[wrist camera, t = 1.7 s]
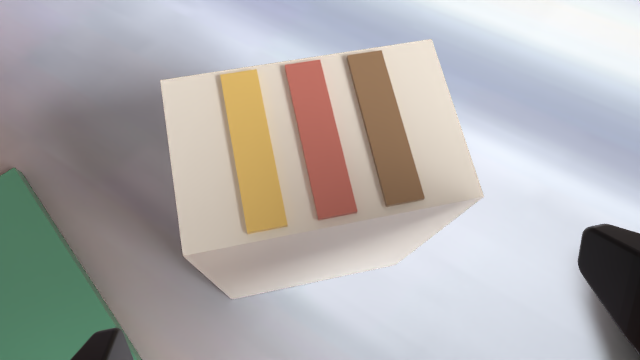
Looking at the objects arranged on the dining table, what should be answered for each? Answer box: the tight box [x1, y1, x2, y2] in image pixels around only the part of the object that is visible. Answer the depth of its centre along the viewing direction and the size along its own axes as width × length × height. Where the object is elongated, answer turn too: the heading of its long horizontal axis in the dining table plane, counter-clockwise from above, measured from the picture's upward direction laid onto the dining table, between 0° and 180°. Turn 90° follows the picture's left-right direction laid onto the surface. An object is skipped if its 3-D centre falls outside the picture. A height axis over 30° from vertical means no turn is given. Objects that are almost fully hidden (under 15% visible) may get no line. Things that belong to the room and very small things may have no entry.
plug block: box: [160, 39, 484, 299], centre depth 16 cm, size 4×7×10 cm, turn 102°
